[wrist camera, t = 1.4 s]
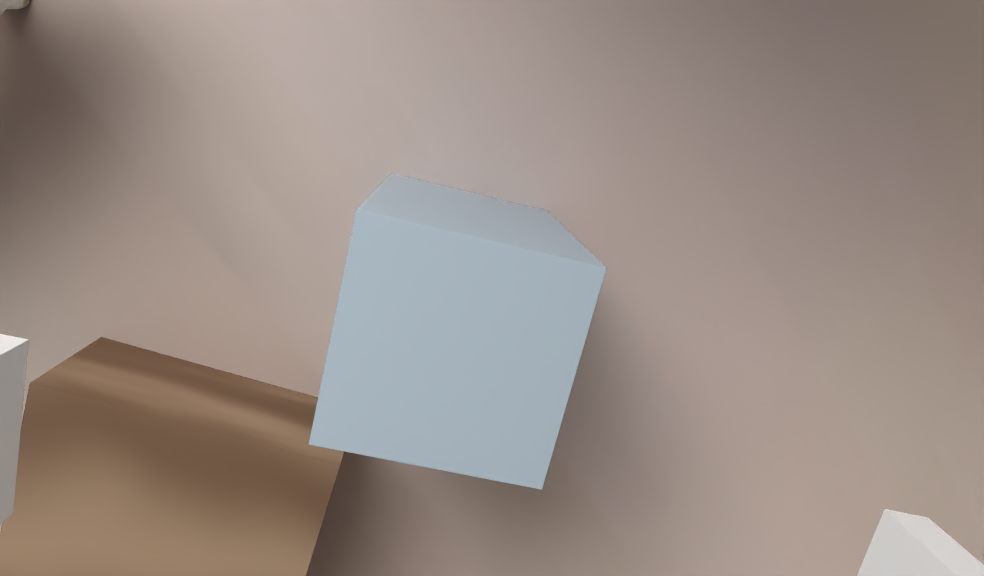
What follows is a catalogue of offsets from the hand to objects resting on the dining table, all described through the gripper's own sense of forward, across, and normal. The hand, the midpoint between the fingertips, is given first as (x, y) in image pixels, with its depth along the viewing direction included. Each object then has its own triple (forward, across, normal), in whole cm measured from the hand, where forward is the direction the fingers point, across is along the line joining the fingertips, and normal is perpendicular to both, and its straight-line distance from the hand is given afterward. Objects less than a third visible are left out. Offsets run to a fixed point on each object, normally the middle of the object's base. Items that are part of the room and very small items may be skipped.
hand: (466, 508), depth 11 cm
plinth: (+17, -8, -14) cm, 23 cm away
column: (+16, 0, 0) cm, 17 cm away
